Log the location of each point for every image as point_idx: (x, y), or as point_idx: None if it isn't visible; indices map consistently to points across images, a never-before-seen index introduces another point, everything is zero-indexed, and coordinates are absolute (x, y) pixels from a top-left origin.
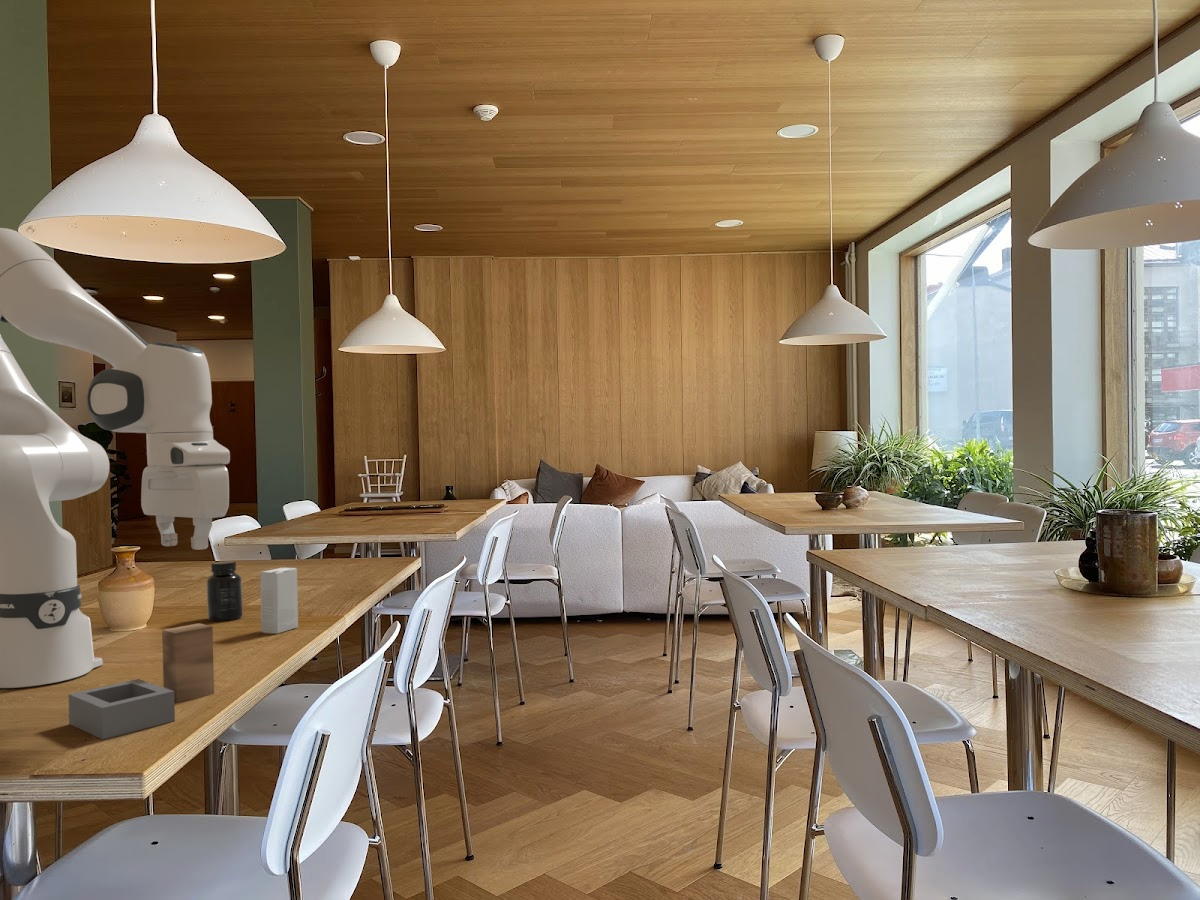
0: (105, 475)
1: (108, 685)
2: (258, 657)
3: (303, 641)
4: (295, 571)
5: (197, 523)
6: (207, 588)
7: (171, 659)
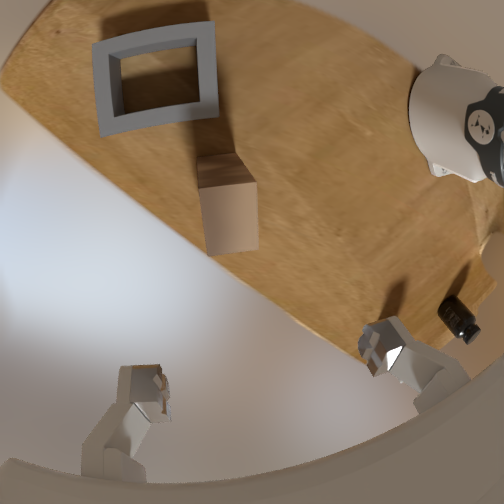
0: None
1: (216, 72)
2: (319, 293)
3: (333, 335)
4: (399, 380)
5: (83, 454)
6: (469, 312)
7: (214, 171)
